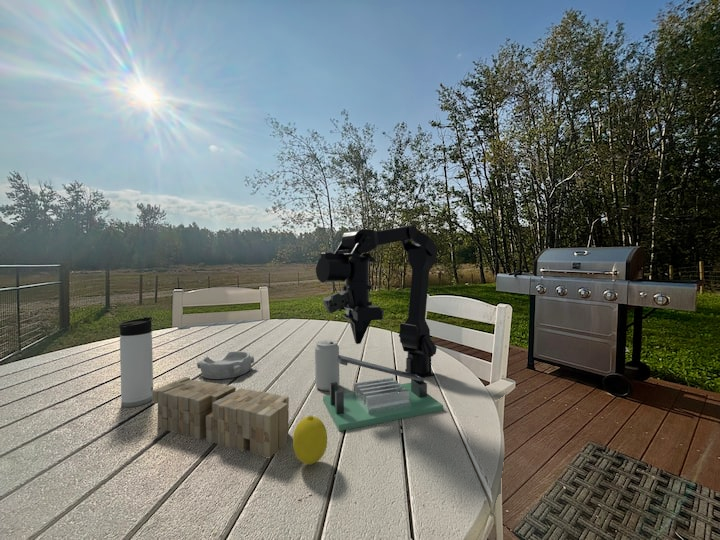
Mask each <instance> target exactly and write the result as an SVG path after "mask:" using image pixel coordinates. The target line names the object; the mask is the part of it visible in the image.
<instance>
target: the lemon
mask: <svg viewBox="0 0 720 540" xmlns="http://www.w3.org/2000/svg"><path fill="white" fill-rule="evenodd" d="M327 447H328V432H327V429H326V426H325V424H324V422H323V421H322V420H321V419H320V418H318V417H317V416H313V415H311V414H309V415H308V416H305V417H304V418H302V419H301V420H299V422H298V423H297V424H296V426H295V430H294V431H293V436H292V448H293V452H294V454H295V457H296V458H297V459H298V460H299V461H300V462H301V463H303V464H306V465H309V466H312V465H313V464H315V463H317V462H319V461H320V460H321V459H322V458H323V456H324V455H325V453H326V451H327Z"/></svg>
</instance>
